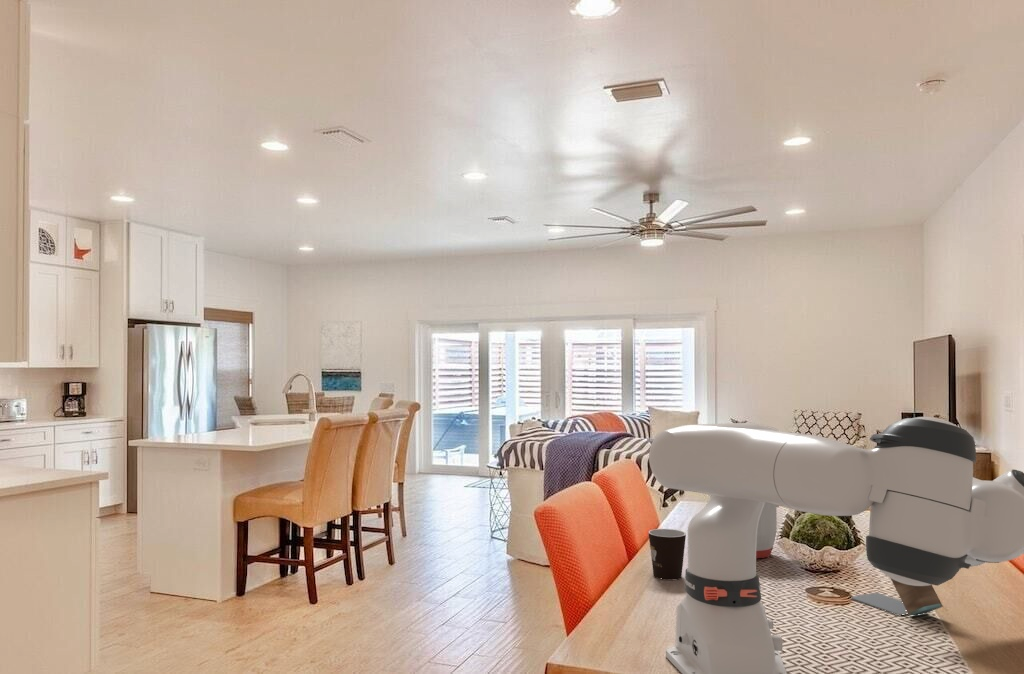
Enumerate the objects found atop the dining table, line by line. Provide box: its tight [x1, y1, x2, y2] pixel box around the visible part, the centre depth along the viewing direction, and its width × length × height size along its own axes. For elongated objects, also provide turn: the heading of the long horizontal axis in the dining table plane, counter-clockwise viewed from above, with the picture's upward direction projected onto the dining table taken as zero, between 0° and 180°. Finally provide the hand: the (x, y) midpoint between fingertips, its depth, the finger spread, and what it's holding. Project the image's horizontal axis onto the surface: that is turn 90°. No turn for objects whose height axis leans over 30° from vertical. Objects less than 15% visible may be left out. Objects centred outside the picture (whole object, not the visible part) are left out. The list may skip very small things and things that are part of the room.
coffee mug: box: [648, 528, 687, 580], centre depth 172 cm, size 12×9×10 cm
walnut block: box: [890, 578, 944, 616], centre depth 145 cm, size 4×4×12 cm
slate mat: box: [850, 592, 907, 615], centre depth 150 cm, size 12×8×1 cm, turn 23°
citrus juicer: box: [756, 502, 780, 559], centre depth 191 cm, size 16×17×20 cm
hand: (923, 576), depth 143 cm, fingers closed
